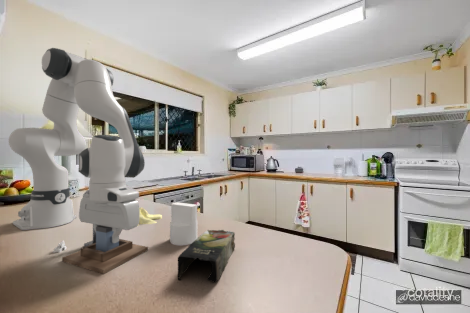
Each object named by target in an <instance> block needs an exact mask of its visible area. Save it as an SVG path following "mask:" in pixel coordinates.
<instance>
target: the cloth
mask: <svg viewBox="0 0 470 313" xmlns="http://www.w3.org/2000/svg"><path fill="white" fill-rule="evenodd" d="M139 214H140V215H139V224H138V226H137V227H139V226H140V225H153V224H157V223H158V222H157V221H155V220H162V219H163V215H162V214H150V213H149V212H148V211H147V210H146V209H145V208H144V207H140V206H139Z"/></svg>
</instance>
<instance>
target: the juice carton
mask: <svg viewBox="0 0 470 313" xmlns="http://www.w3.org/2000/svg"><path fill="white" fill-rule="evenodd" d="M235 234H236V233H235V232H234V231H231V230H229V231H228V230H224V229H221V230H220V229H218V230H214V229H211V230H209V229H206V230H205V231H204V232H203V233H201V235H199V236H197V239H196V240H195V241H194V242H193V243H191V244H189V245H188V247H186V248H185V250H183V251H182V252H181V253H180V254H179V255H178V257H177V280H178V281H182V279H180V278H181V277H182V275H183V274H184V273H185V272H186V271H187V270H188V269H189V267H190V266H191V265H192V264H193V263H194V261H195V260H197V258H198V260H200V262H203V261H207V262H209V263H210V264H211V268H212V269H211V272H210V274H209V275H208V276H207V277H206V279H207V281H209V282H211V283H215V284H216V283H217V281H218V280H220V279H221V278H220V277H221V275H222V274H223V272H224V270H225V269H226V267H227V265H228V263H229V259H230V257H231V256H232V255H233V252H234V251H235V248H236V243H235V240H236V238H235ZM222 276H223V275H222Z"/></svg>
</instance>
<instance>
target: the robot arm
mask: <svg viewBox="0 0 470 313" xmlns="http://www.w3.org/2000/svg"><path fill="white" fill-rule="evenodd" d="M41 69H42V71H43V73H44V74H45V75H46V76H47V77H49V78H51V80H50V82H49V85H48V88H47V90H46V93H45V97H44V102H43V105H42V108H41V110H42V112H41V113H42V114H43V116H44V117H45V118H46V119H48V120H49V121H50V122H52V123H53V128H52V129H50V128H40V127H21V128H16V129H14V130H13V131H12V132H11V134H10V135H9V137H8V146H9V147H10V149H11V150H12V151H13V152H14V153H15V154H17V155H18V156H20V157H22V158H23V159H24V160H25V161H26V162H27V164H28V165H29V167H30V169H31V172H32V179H33V180H32V181H33V189H32V191H31V193H30V201H28V202H27V203H26V204H25V205H24V206H23V207H22V208H21V210H19V211H18V213H17V216H18V217H19V219H16V220H13V221H12V225H14V226H15V227H16V228H18V229H19V230H21V231H26V230H36V229H47V228H53V227H59V226H62V225H66V224H70V223H71V222H73V221H74V219H76V218H77V215H76V214H74V205H73V204H74V203H73V199H71V198H70V196H71V194H70V193H71V191H70V187H69V170H68V169H67V168H66V167H65V166H63V165H60V164H58V163H57V161H56V160H55V159H56V158H55V157H70V156H76V155H78V173H80V174H81V175H82V176H84V177H85V178H88V179H89V182H88V183H89V185H88V187H89V189H88V190H85V192H84V193H83V195H82V198H81V199H80V203H79V211H78V218H79V220H80V223H86V224H91V225H92V229H93V228H94V230H95V232H96V226H99V225H101V226H107V227H112V231H114V233H113V235H112V236H110V242H111V243H117V242H118V241H119V239H120V235H121V233H122V231H123V230H124V231H130V230H133V229H135V228H137V227H139V226H138V225H140V224H139V215H140V214H139V208H140V204H139V201H138V199H139V197H140V193H139V192H140V191H138V190H136V189H135V188H133V187H131V186H129V185H128V184H126V178H136V177H138V176H139V175H140V174H141V173H142V172H143V170H144V169H145V157H144V155H143V152H142V150H141V148H140V146H139V144H138V141H137V137H136V135H135V131H134V129H133V126H132V123H131V120H130V117H129V115H128V114H129V113H128V112H127V110H126V109H125V107H124V106H122V105H121V104H120V103H119V102H118V101H117V100H116V98H115V96H114V93H113V85H114V75H113V72H112V71H110V69H108V68H107V67H106V66H105V65H104V64H102V63H101V62H99V61H98V60H94V59H89V58H85V57H82V56H79V55H76V54H74V53H71V52H70V53H69V52H68V51H65V50H64V49H61V48H57V47H51V48H48V49H46V51H45V52H44V54H43V55H42V57H41ZM80 110H82V112H84V113H85V114H87V115H89V116H90V117H93V118H95V119H98V120H100V121H104V122H105V123H108V124H109V125H111V126H112V127H113V128H114V129H116V131H117V134H118V135H117V136H116V135H112V134H96V135H93V136H92V137H91V141H90V142H91V143H90V147H87V141H86V138H85V137H84V135H83V134H81V133H80V131H79V127H78V123H77V122H78V115H79V112H80Z"/></svg>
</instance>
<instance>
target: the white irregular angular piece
mask: <svg viewBox="0 0 470 313" xmlns="http://www.w3.org/2000/svg"><path fill="white" fill-rule="evenodd" d="M67 249H68V248H67V246H66V242H65V240H62V241H61V242H59V243H58V245H57V246H56V247H55V248H54V249H53V251H52V253H61V252H63V250H64V251H66V250H67Z"/></svg>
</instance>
